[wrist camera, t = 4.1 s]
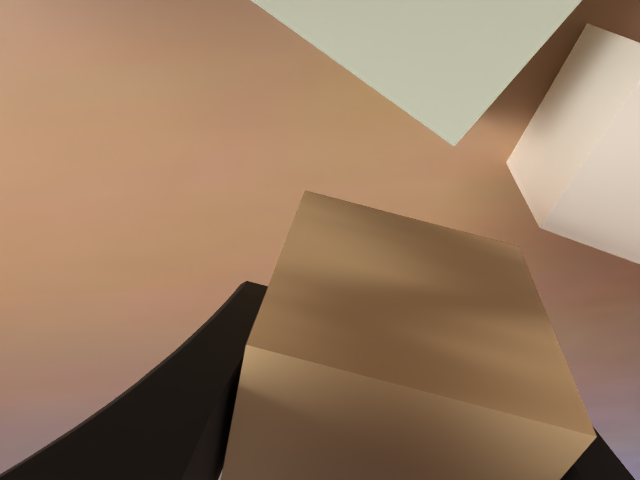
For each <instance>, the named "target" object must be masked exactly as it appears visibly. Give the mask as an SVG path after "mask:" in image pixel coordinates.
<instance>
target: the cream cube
mask: <svg viewBox="0 0 640 480" xmlns="http://www.w3.org/2000/svg"><path fill="white" fill-rule="evenodd" d="M506 164H507V166H508V168H509V170H510V172H511V174H512V176H513V177H514V179H515V181H516V183H517V185H518V187H519V189H520V191H521V193H522V195H523V197H524V199H525V201H526V203H527V205H528V207H529V208H530V210H531V212H532V214H533V216H534V218H535V220H536V222H537V224H538V226H539V228H541V229H544V230H546V231H549V232H552V233H555V234H557V235H560V236H563V237H566V238H568V239H571V240H574V241H577V242H579V243H582V244H585V245H588V246H591V247H593V248H596V249H599V250H602V251H604V252H607V253H610V254H613V255H615V256H618V257H621V258H624V259H626V260H629V261H632V262H635V263H638V264H640V43H639V42H636V41H634V40H631V39H628V38H626V37H623V36H620V35H618V34H615V33H612V32H609V31H607V30H604V29H601V28H599V27H596V26H593V25H591V24H588V23H587V24H586V26H585V28H584V30H583V31H582V33H581V35H580V37H579V38H578V40H577V42H576V43H575V45H574V47H573V49H572V50H571V52H570V54H569V55H568V57H567V59H566V61H565V62H564V64H563V66H562V68H561V69H560V71H559V73H558V74H557V76H556V78H555V80H554V81H553V83H552V85H551V86H550V88H549V90H548V92H547V93H546V95H545V97H544V99H543V100H542V102H541V104H540V105H539V107H538V109H537V111H536V112H535V114H534V116H533V117H532V119H531V121H530V123H529V124H528V126H527V128H526V130H525V131H524V133H523V135H522V136H521V138H520V140H519V142H518V143H517V145H516V147H515V148H514V150H513V152H512V154H511V155H510V157H509V159H508V161H507V162H506Z"/></svg>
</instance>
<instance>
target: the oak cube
mask: <svg viewBox="0 0 640 480" xmlns="http://www.w3.org/2000/svg"><path fill="white" fill-rule="evenodd" d="M596 437H597V436H596V433H595V431H594V428H593V426H592V424H591V421H590V419H589V416H588V414H587V411H586V409H585V406H584V404H583V402H582V399H581V397H580V394H579V392H578V389H577V387H576V385H575V382H574V380H573V377H572V375H571V372H570V370H569V367H568V365H567V363H566V360H565V358H564V355H563V353H562V350H561V348H560V345H559V343H558V341H557V338H556V336H555V333H554V331H553V328H552V326H551V323H550V321H549V319H548V316H547V314H546V311H545V309H544V306H543V304H542V302H541V299H540V297H539V294H538V292H537V289H536V287H535V284H534V282H533V280H532V277H531V275H530V272H529V270H528V267H527V265H526V262H525V260H524V258H523V255H522V253H521V250H520V248H519V246H516V245H512V244H508V243H504V242H500V241H497V240H493V239H489V238H485V237H481V236H477V235H474V234H470V233H466V232H462V231H458V230H454V229H451V228H447V227H443V226H439V225H435V224H431V223H428V222H424V221H420V220H416V219H412V218H408V217H405V216H401V215H397V214H393V213H389V212H385V211H382V210H378V209H374V208H370V207H366V206H363V205H359V204H355V203H351V202H347V201H343V200H340V199H336V198H332V197H328V196H324V195H320V194H317V193H313V192H309V191H305V192H304V194H303V197H302V200H301V202H300V205H299V207H298V210H297V213H296V215H295V218H294V221H293V223H292V226H291V228H290V231H289V234H288V236H287V239H286V241H285V244H284V247H283V249H282V252H281V255H280V257H279V260H278V262H277V265H276V268H275V270H274V273H273V275H272V278H271V281H270V283H269V286H268V289H267V291H266V294H265V296H264V299H263V302H262V304H261V307H260V309H259V312H258V315H257V317H256V320H255V323H254V325H253V328H252V330H251V333H250V336H249V338H248V341H247V343H246V347H245V353H244V358H243V363H242V369H241V374H240V380H239V385H238V390H237V396H236V401H235V407H234V412H233V417H232V423H231V428H230V433H229V439H228V444H227V450H226V455H225V460H224V466H223V471H222V477H221V480H560V479H561V478H562V477H563V475H564V474H565V473H566V472H567V471H568V470H569V468H570V467H571V466H572V465H573V464H574V463H575V462H576V460H577V459H578V458H579V457H580V456H581V455H582V453H583V452H584V451H585V450H586V449H587V448H588V446H589V445H590V444H591V443H592V442H593V441H594V440H595V438H596Z"/></svg>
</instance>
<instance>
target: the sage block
mask: <svg viewBox="0 0 640 480" xmlns="http://www.w3.org/2000/svg"><path fill="white" fill-rule="evenodd" d="M251 1H252V2H254V3H255V4H257V5H258V6H259V7H261V8H262V9H264V10H265V11H266V12H268V13H269V14H271V15H272V16H273V17H275V18H276V19H277V20H279V21H280V22H282V23H283V24H284V25H286V26H287V27H289V28H290V29H291V30H293V31H294V32H296V33H297V34H298V35H300V36H301V37H302V38H304V39H305V40H307V41H308V42H309V43H311V44H312V45H314V46H315V47H316V48H318V49H319V50H321V51H322V52H323V53H325V54H326V55H327V56H329V57H330V58H332V59H333V60H334V61H336V62H337V63H339V64H340V65H341V66H343V67H344V68H346V69H347V70H348V71H350V72H351V73H352V74H354V75H355V76H357V77H358V78H359V79H361V80H362V81H364V82H365V83H366V84H368V85H369V86H371V87H372V88H373V89H375V90H376V91H377V92H379V93H380V94H382V95H383V96H384V97H386V98H387V99H389V100H390V101H391V102H393V103H394V104H396V105H397V106H398V107H400V108H401V109H402V110H404V111H405V112H407V113H408V114H409V115H411V116H412V117H414V118H415V119H416V120H418V121H419V122H421V123H422V124H423V125H425V126H426V127H427V128H429V129H430V130H432V131H433V132H434V133H436V134H437V135H439V136H440V137H441V138H443V139H444V140H446V141H447V142H448V143H450V144H451V145H452V146H455V145H456V144H457V143H458V142H459V141H460V139H461V138H462V137H463V136H464V135H465V134H466V133H467V131H468V130H469V129H470V128H471V127H472V126H473V125H474V123H475V122H476V121H477V120H478V119H479V118H480V117H481V115H482V114H483V113H484V112H485V111H486V110H487V109H488V107H489V106H490V105H491V104H492V103H493V102H494V101H495V99H496V98H497V97H498V96H499V95H500V94H501V93H502V91H503V90H504V89H505V88H506V87H507V86H508V84H509V83H510V82H511V81H512V80H513V79H514V78H515V76H516V75H517V74H518V73H519V72H520V71H521V70H522V68H523V67H524V66H525V65H526V64H527V63H528V62H529V60H530V59H531V58H532V57H533V56H534V55H535V54H536V52H537V51H538V50H539V49H540V48H541V47H542V46H543V44H544V43H545V42H546V41H547V40H548V39H549V38H550V36H551V35H552V34H553V33H554V32H555V31H556V30H557V28H558V27H559V26H560V25H561V24H562V23H563V22H564V20H565V19H566V18H567V17H568V16H569V15H570V14H571V12H572V11H573V10H574V9H575V8H576V7H577V6H578V4H579V3H580V2H581V1H582V0H251Z"/></svg>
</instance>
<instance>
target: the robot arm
mask: <svg viewBox="0 0 640 480" xmlns="http://www.w3.org/2000/svg"><path fill="white" fill-rule="evenodd" d="M267 289H268V286H264V285H260V284H256V283H252V282H249V281H246V282H244V283H242V284H240V286H239V287H238V288H237V289H236V291H235V292H234V293H233V294H232V295H231V296H230V298H229V299H228V300H227V301H226V302H225V303H224V304H223V305H222V306H221V307H220V308H219V309H218V310H217V311H216V312H215V313H214V314H213V316H212V317H211V318H210V319H209V320H208V321H207V322H206V323H205V324H203V325H202V326H201V327H200V328H199V329H198V330H197V331H196V332H195V333H194V334H193V335H192V336H191V337H189V338H188V339H187V340H186V341H185V342H184V343H183V344H182V345H181V346H180V347H179V348H177V349H176V350H175V351H174V352H173V353H172V354H171V355H169V356H168V357H167V358H166V359H165V360H163V361H162V362H161V363H160V364H159V365H157V366H156V367H155V368H154V369H152V370H151V371H150V372H149V373H148V374H146V375H145V376H144V377H143V378H141V379H140V380H139V381H138V382H137V383H135V384H134V385H133V386H131V387H130V388H129V389H128V390H126V391H125V392H124V393H122V394H121V395H120V396H118V397H117V398H116V399H114V400H113V401H112V402H110V403H109V404H107V405H106V406H105V407H103V408H102V409H100V410H99V411H98V412H96V413H95V414H93V415H92V416H90V417H89V418H88V419H86V420H85V421H83V422H82V423H80V424H79V425H78V426H76V427H75V428H73V429H71V430H70V431H68V432H67V433H65V434H64V435H62V436H61V437H59V438H58V439H56V440H55V441H53V442H51V443H50V444H48V445H47V446H45V447H44V448H42V449H41V450H39V451H38V452H36V453H34V454H33V455H31V456H30V457H28V458H26V459H25V460H23V461H22V462H20V463H18V464H17V465H15V466H13V467H12V468H10V469H8V470H7V471H5V472H3V473H2V474H0V480H218V478H219V476H220V474H221V471H222V469H223V466H224V460H225V455H226V450H227V444H228V439H229V433H230V428H231V423H232V417H233V412H234V407H235V401H236V396H237V390H238V385H239V380H240V374H241V369H242V363H243V358H244V353H245V347H246V343H247V341H248V338H249V336H250V333H251V330H252V328H253V325H254V323H255V320H256V317H257V315H258V312H259V309H260V307H261V304H262V302H263V299H264V296H265V294H266V291H267ZM593 428H594V427H593ZM594 431H595V433H596V436H597V437H596V438H595V440H594V441H593V442H592V443H591V444H590V445H589V446H588V448H587V449H586V450H585V451H584V452H583V453H582V455H581V456H580V457H579V458H578V459H577V460H576V462H575V463H574V464H573V465H572V466H571V467H570V468H569V470H568V471H567V472H566V473H565V474H564V475H563V477H562V478H561V479H560V480H635V479H634V478H633V476H632V475H631V474H630V473H629V471H628V470H627V469H626V468H625V466H624V465H623V464H622V463H621V462H620V460H619V459H618V458H617V457H616V455H615V454H614V453H613V451H612V450H611V449H610V448H609V446H608V445H607V444H606V443H605V441H604V440H603V439H602V437H601V436H600V435H599V434H598V432H597V431H596V430H595V428H594Z"/></svg>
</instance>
